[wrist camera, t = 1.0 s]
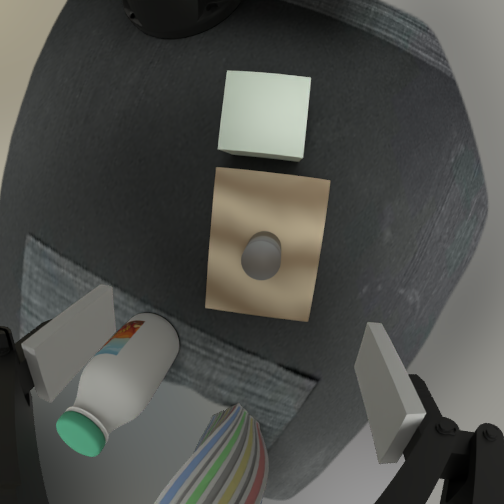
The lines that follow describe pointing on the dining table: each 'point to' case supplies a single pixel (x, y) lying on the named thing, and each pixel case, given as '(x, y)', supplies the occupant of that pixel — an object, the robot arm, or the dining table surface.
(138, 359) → the milk bottle
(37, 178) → the dining table surface
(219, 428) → the vase
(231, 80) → the pale green block
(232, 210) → the post base
